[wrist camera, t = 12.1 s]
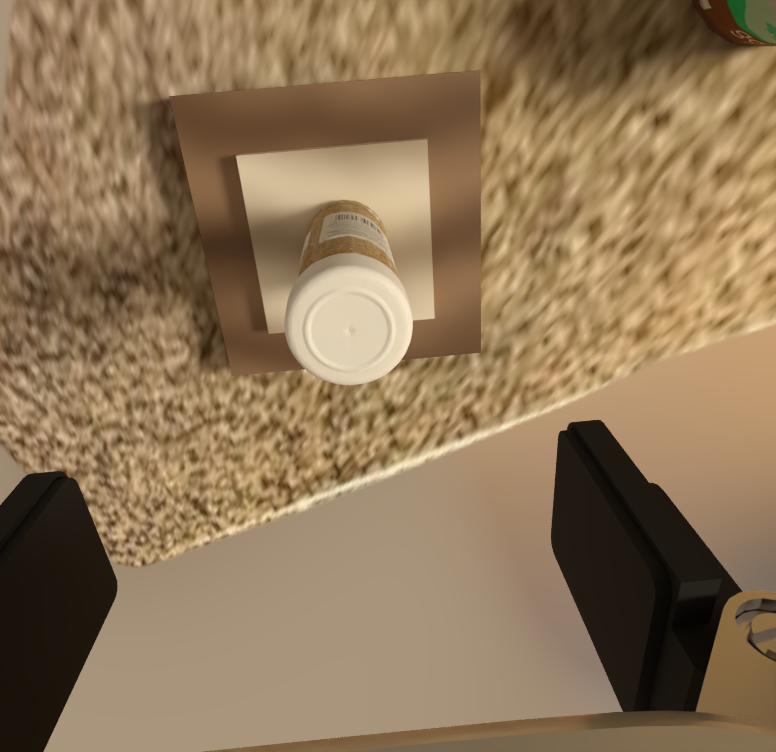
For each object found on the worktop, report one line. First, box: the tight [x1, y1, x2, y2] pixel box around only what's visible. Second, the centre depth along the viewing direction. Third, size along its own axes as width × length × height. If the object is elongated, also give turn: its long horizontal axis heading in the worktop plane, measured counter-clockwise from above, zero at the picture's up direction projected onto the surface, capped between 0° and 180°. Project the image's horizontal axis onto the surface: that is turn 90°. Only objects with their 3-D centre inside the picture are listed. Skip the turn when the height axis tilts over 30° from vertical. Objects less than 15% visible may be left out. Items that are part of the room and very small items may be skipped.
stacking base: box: [169, 70, 481, 376], centre depth 33 cm, size 16×16×3 cm
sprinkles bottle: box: [284, 200, 413, 385], centre depth 25 cm, size 5×5×14 cm
